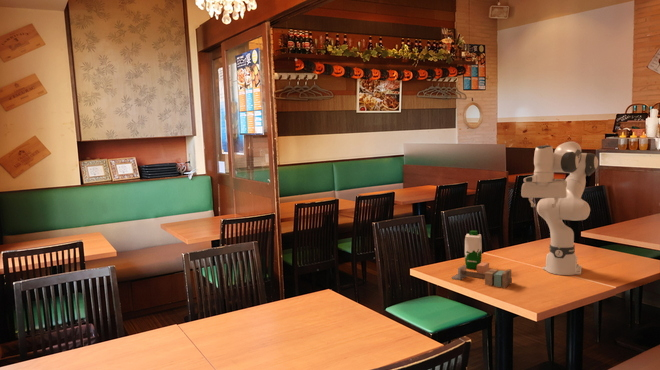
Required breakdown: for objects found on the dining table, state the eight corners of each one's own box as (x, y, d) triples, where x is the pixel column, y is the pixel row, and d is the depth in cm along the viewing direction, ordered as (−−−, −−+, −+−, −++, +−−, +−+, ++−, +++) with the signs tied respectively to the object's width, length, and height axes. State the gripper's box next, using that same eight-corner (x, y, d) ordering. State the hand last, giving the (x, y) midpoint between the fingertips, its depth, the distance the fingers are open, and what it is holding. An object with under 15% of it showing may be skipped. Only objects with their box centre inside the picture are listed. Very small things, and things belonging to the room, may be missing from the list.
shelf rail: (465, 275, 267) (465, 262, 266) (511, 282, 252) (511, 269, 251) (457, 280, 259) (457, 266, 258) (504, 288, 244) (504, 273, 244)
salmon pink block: (482, 272, 271) (482, 261, 270) (489, 273, 269) (489, 262, 268) (476, 276, 265) (476, 265, 264) (483, 277, 263) (483, 266, 262)
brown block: (491, 280, 257) (491, 269, 256) (497, 281, 255) (497, 270, 254) (484, 284, 251) (485, 272, 250) (491, 285, 249) (491, 273, 248)
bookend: (457, 275, 268) (457, 264, 267) (466, 276, 265) (466, 265, 264) (451, 278, 262) (451, 267, 261) (460, 280, 259) (460, 268, 258)
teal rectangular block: (500, 282, 254) (500, 270, 254) (507, 283, 252) (507, 271, 251) (494, 286, 248) (494, 274, 247) (501, 287, 246) (501, 275, 245)
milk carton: (482, 265, 284) (482, 230, 282) (480, 270, 276) (480, 233, 274) (466, 264, 288) (466, 229, 285) (463, 268, 279) (463, 233, 277)
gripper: (568, 178, 241) (568, 207, 241) (523, 178, 253) (523, 206, 253) (565, 178, 236) (565, 208, 236) (520, 178, 248) (520, 206, 248)
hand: (543, 207), depth 245 cm, fingers open, 8 cm apart
